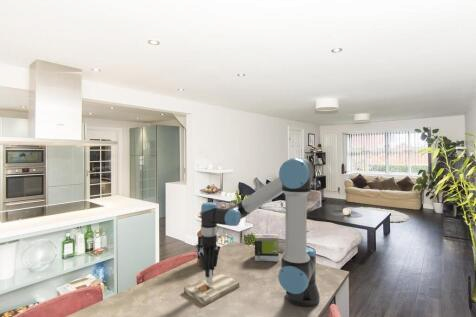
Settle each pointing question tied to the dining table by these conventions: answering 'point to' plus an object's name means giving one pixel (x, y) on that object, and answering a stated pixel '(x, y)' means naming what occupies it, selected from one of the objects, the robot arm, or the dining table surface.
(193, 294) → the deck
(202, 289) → the ball
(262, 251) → the tea box
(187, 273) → the dining table surface
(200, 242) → the whiskey bottle
